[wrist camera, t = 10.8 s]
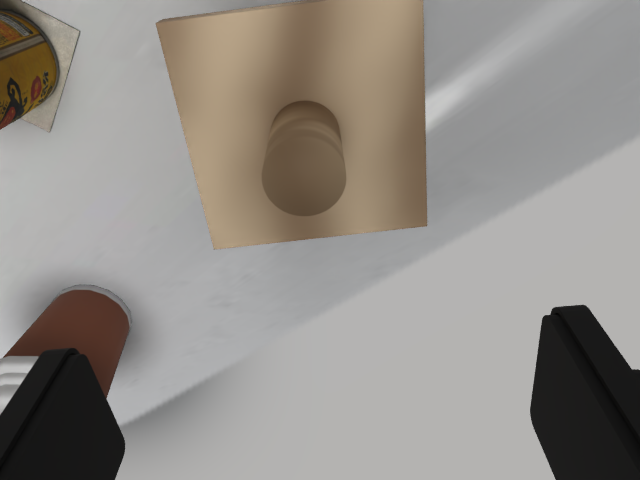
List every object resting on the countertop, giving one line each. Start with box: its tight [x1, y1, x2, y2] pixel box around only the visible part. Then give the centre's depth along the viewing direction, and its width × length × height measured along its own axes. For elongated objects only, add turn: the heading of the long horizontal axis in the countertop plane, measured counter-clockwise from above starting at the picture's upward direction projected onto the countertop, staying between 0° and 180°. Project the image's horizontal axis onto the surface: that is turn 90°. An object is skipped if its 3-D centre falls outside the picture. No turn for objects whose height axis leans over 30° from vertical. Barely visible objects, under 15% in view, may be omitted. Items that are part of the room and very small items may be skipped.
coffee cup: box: [0, 285, 132, 415], centre depth 38 cm, size 9×9×12 cm
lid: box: [156, 0, 427, 249], centre depth 22 cm, size 11×11×6 cm
